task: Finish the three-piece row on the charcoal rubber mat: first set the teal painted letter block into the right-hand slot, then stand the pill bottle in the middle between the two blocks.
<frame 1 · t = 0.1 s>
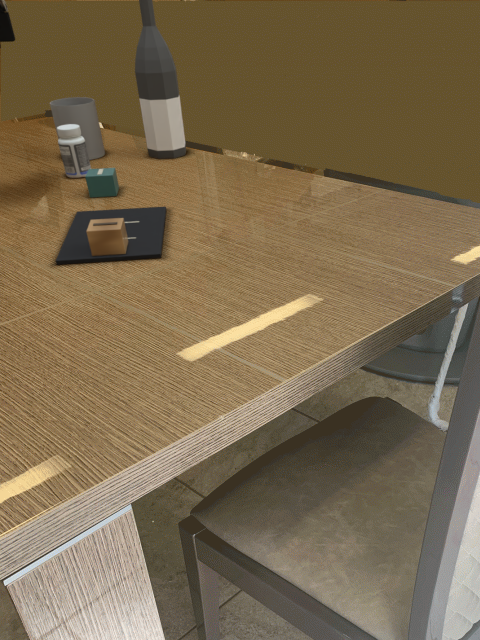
maple block: (110, 248, 90), point 1 cm above the table, touching mat
wine bottle: (167, 154, 132), on the table
pill bottle: (79, 175, 121), on the table
cup: (84, 156, 131), on the table
mat: (116, 234, 96), on the table
teal block: (104, 192, 112), on the table
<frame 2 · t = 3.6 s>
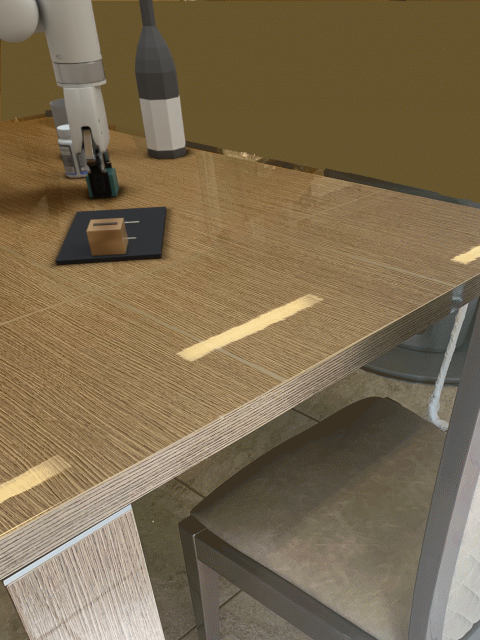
hand: (104, 190, 111), 0 cm above the table, tool pointing down, fingers closed on teal block, 4 cm apart
teal block: (104, 192, 112), on the table, touching gripper
everything else where it was.
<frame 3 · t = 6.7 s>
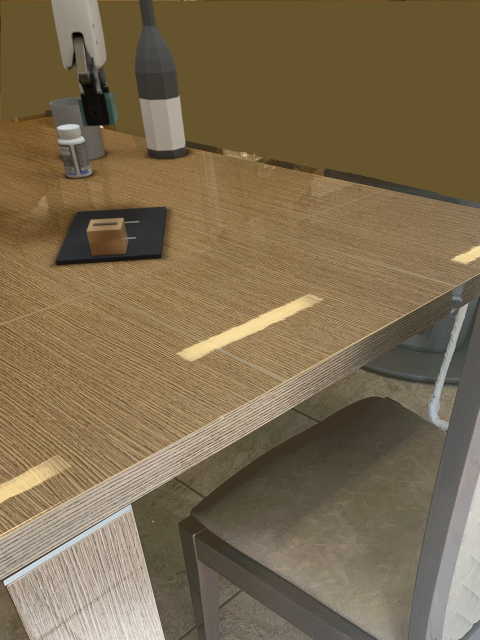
hand: (100, 119, 94), 14 cm above the table, tool pointing down, fingers closed on teal block, 4 cm apart
teal block: (101, 122, 94), point 14 cm above the table, touching gripper
everything else where it was.
when the fingers open (1 cm above the table, at t = 10.0 s): teal block stays where it is, resting on mat.
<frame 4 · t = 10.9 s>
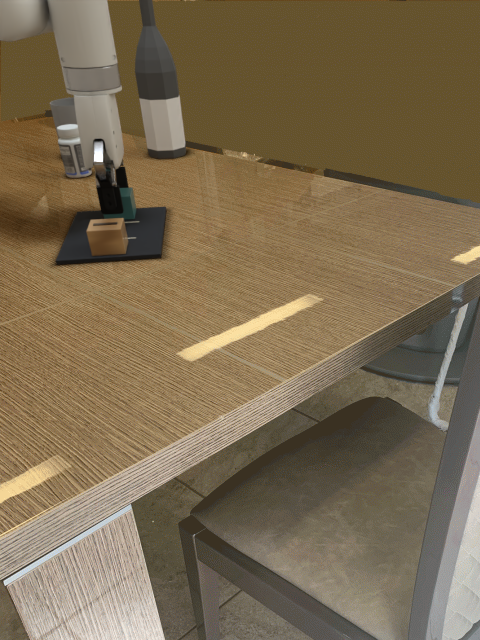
hand: (116, 202, 100), 3 cm above the table, tool pointing down, fingers open, 9 cm apart
teal block: (120, 215, 101), point 1 cm above the table, touching mat
everything else where it was.
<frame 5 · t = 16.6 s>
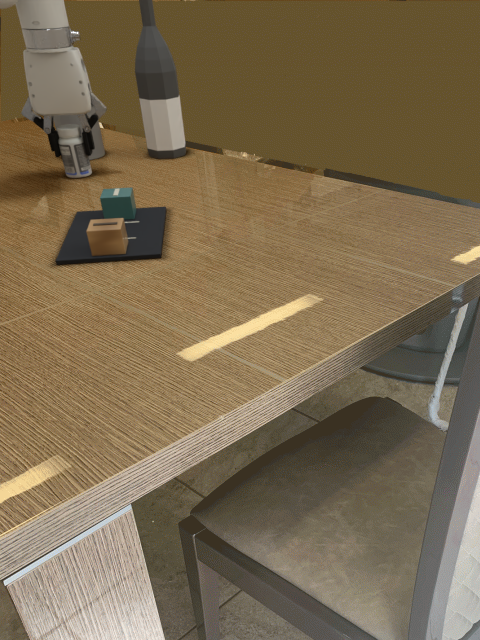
hand: (74, 153, 118), 4 cm above the table, tool pointing down, fingers closed on pill bottle, 4 cm apart
pill bottle: (79, 175, 121), on the table, touching gripper
everything else where it was.
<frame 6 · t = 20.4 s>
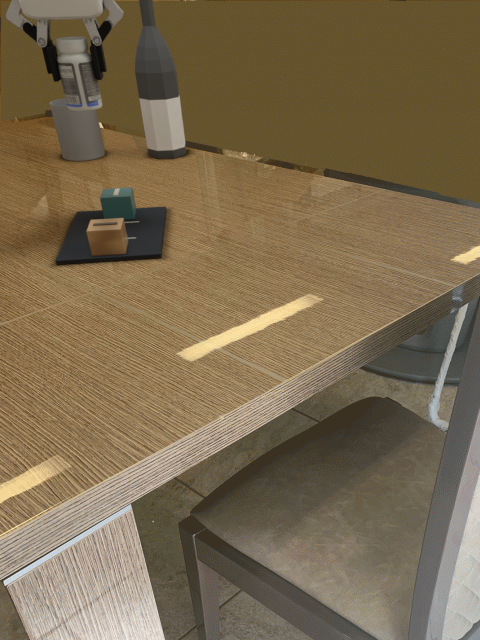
hand: (78, 77, 87), 20 cm above the table, tool pointing down, fingers closed on pill bottle, 4 cm apart
pill bottle: (85, 109, 89), point 16 cm above the table, touching gripper
everything else where it was.
when the fingers open (4 cm above the table, at t = 24.7 s): pill bottle stays where it is, resting on mat.
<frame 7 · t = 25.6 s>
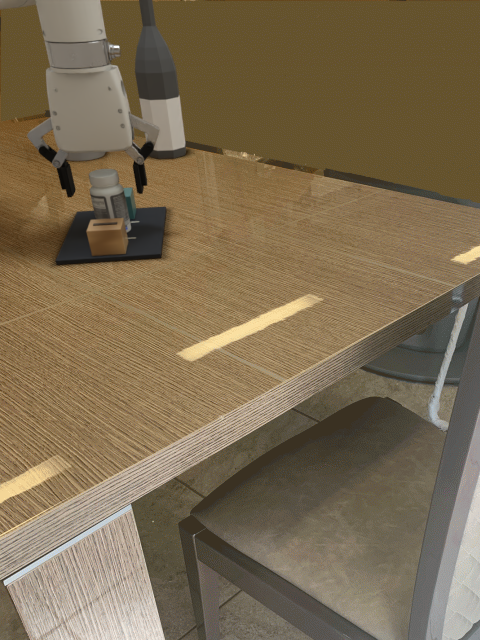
hand: (106, 192, 92), 6 cm above the table, tool pointing down, fingers open, 9 cm apart
pill bottle: (115, 232, 95), resting on mat
everything else where it was.
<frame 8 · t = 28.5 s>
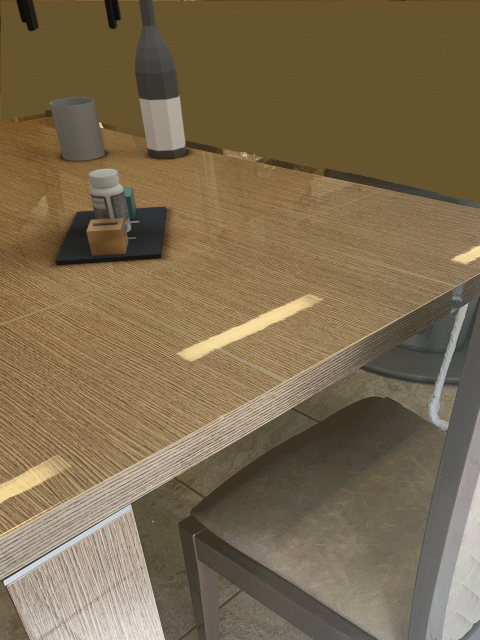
hand: (74, 28, 80), 26 cm above the table, tool pointing down, fingers open, 9 cm apart
nothing on the table moved.
at the end: teal block 0.1 cm from the target spot on the mat, point 0.6 cm above the mat's base; pill bottle 0.1 cm off-centre on the mat, point 0.4 cm above the mat's base; pill bottle tilted 0° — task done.
